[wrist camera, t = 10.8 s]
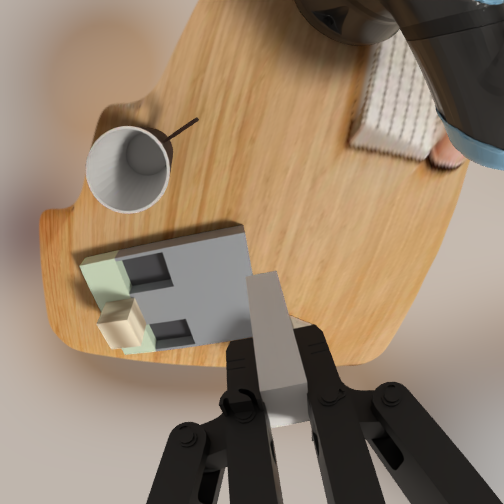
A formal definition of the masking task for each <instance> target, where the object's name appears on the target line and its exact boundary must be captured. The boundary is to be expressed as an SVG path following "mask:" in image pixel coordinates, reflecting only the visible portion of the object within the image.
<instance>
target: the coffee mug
mask: <svg viewBox="0 0 504 504" xmlns="http://www.w3.org/2000/svg"><path fill="white" fill-rule="evenodd" d="M198 120H199V119H198V118H195V119H193V120H192V121H190V122H189V123H187V124H186V125H184V126H183V127H182V128H180V129H179V130H177V131H176V132H174V133H173V134H172V135H170V136H169V137H167V136H166V135H165V134H164V133H163V132H161V131H159V130H157V129H152V128H144V127H136V126H121V127H116V128H114V129H111V130H109V131H107V132H106V133H104V134H103V135H101V136H100V137H99V138H98V139H97V140H96V141H95V143H94V144H93V146H92V147H91V149H90V151H89V154H88V157H87V161H86V178H87V183H88V185H89V188H90V190H91V192H92V193H93V195H94V197H95V198H96V199H97V200H98V201H99V202H100V203H101V204H102V205H104V206H105V207H106V208H108V209H110V210H112V211H115V212H119V213H126V214H131V213H138V212H141V211H144V210H146V209H148V208H150V207H151V206H153V205H154V204H155V203H156V202H157V201H158V200H159V199H160V198H161V196H162V195H163V194H164V192H165V190H166V187H167V185H168V181H169V177H170V171H171V164H172V158H173V147H172V144H171V142H170V139H172V138H173V137H175V136H177V135H178V134H180V133H181V132H182V131H184V130H185V129H187V128H188V127H190V126H191V125H193V124H194V123H196V122H197V121H198Z"/></svg>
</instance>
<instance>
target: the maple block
mask: <svg viewBox="0 0 504 504" xmlns="http://www.w3.org/2000/svg"><path fill="white" fill-rule="evenodd" d="M97 326H98V327H99V329H100V331H101V333H102V334H103V336H104V338H105V339H106V341H107V343H108V344H109V346H110V348H111V349H119V348H128V347H137V346H141V344H142V340H143V336H144V331H145V327H146V321H145V319H144V317H143V315H142V313H141V310H140V308H139V306H138V304H137V302H136V299H135V298H130V299H124V300H118V301H112V302H106V303H105V306H104V308H103V310H102V312H101V315H100V317H99V319H98V322H97Z"/></svg>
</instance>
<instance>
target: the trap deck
mask: <svg viewBox="0 0 504 504" xmlns="http://www.w3.org/2000/svg"><path fill="white" fill-rule="evenodd" d="M80 269H81V271H82V273H83V275H84V278H85V280H86V282H87V284H88V286H89V288H90V290H91V292H92V295H93V297H94V299H95V301H96V303H97V305H98V307H99V309H100V310H101V312H102V310H103V308H104V306H105V303H106V302H112V301H118V300H124V299H130V298H135V299H136V302H137V304H138V306H139V308H140V310H141V313H142V315H143V317H144V319H145V321H146V327H145V331H144V336H143V340H142V344H141V346H137V347H128V348H121V349H122V350H123V352H124V354H125V355H126V354H136V353H146V352H155V351H163V350H171V349H179V348H186V347H193V346H200V345H207V344H213V343H220V342H226V341H232V340H238V339H243V338H249V337H253V334H252V326H251V318H250V310H249V302H248V294H247V286H246V277H247V276H252V275H253V274H252V269H251V263H250V258H249V252H248V247H247V241H246V236H245V231H244V226H243V225H240V226H234V227H229V228H224V229H219V230H213V231H208V232H203V233H198V234H193V235H188V236H183V237H178V238H173V239H168V240H164V241H159V242H154V243H149V244H145V245H140V246H135V247H130V248H126V249H121V250H117V251H112V252H108V253H103V254H99V255H94V256H90V257H85V259H84V260H83V261H82V263H81V264H80Z"/></svg>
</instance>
